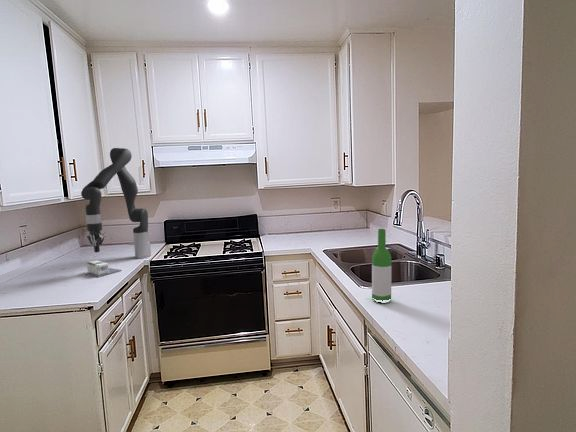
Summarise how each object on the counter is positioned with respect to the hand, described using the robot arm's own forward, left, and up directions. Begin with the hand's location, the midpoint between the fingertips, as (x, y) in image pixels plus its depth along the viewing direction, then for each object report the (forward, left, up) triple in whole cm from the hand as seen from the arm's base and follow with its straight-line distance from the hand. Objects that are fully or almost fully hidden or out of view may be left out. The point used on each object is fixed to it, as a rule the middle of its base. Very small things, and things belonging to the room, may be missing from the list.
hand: (97, 252), depth 199 cm
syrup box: (+1, -5, -8) cm, 10 cm away
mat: (0, +5, -12) cm, 13 cm away
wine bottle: (-20, +158, -12) cm, 160 cm away
